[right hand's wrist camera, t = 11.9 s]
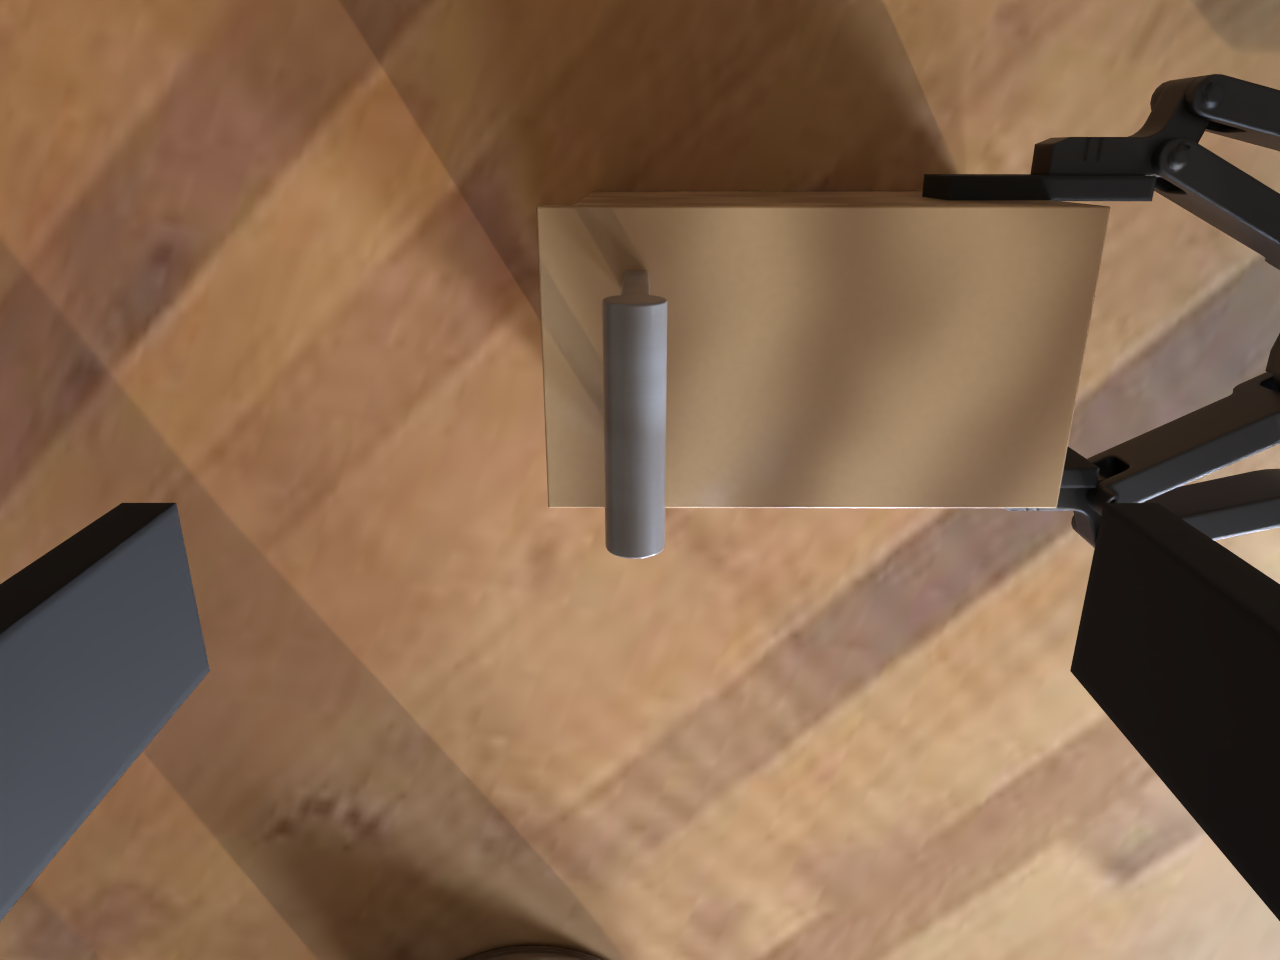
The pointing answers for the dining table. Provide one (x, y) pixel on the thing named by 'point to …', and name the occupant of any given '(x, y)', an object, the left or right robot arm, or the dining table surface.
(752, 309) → the lid
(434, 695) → the dining table surface
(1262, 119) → the left robot arm
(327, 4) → the dining table surface
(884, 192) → the chest
